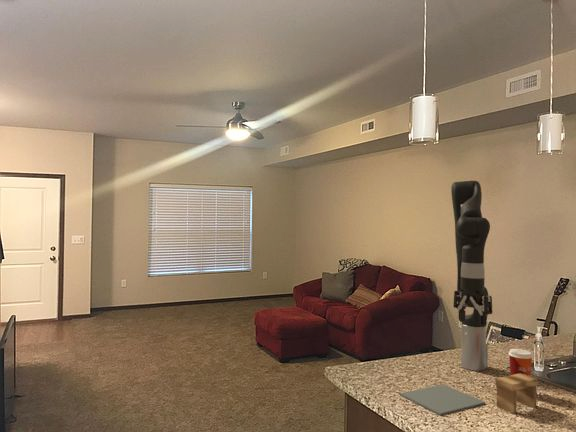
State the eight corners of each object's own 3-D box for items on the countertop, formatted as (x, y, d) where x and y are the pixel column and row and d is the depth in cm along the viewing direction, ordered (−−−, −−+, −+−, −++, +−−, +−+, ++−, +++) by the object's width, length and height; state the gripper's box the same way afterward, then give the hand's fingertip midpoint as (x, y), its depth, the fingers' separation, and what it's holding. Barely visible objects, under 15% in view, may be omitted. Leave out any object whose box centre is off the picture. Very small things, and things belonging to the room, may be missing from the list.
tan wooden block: (520, 400, 152) (520, 373, 152) (537, 407, 147) (537, 378, 147) (495, 406, 146) (495, 378, 146) (512, 414, 141) (512, 384, 141)
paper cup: (523, 397, 154) (523, 355, 154) (503, 390, 161) (503, 349, 161) (538, 393, 158) (538, 352, 158) (517, 386, 165) (518, 347, 165)
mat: (443, 385, 165) (443, 384, 165) (485, 404, 149) (485, 402, 149) (399, 395, 155) (399, 393, 155) (439, 415, 139) (439, 413, 139)
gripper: (498, 278, 152) (497, 327, 152) (463, 273, 164) (463, 318, 164) (482, 279, 148) (481, 329, 148) (448, 274, 161) (448, 320, 161)
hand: (472, 323), depth 156 cm, fingers open, 8 cm apart
